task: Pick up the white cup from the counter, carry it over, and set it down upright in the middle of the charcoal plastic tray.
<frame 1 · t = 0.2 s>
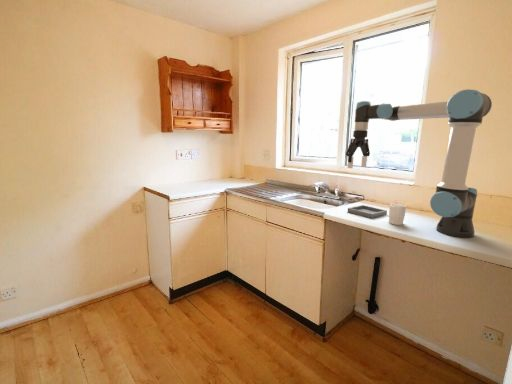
hand: (356, 167, 161), 28 cm above the table, tool pointing down, fingers open, 13 cm apart
white cup: (395, 223, 149), on the table
tray: (366, 213, 167), on the table
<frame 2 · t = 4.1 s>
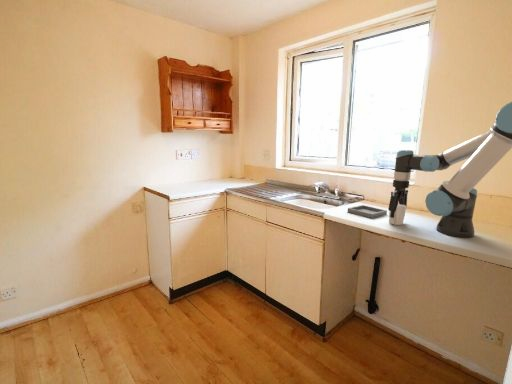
hand: (395, 221, 149), 1 cm above the table, tool pointing down, fingers closed on white cup, 7 cm apart
white cup: (395, 223, 149), on the table, touching gripper
when the fingers open (3 cm above the table, at t = 9.7 s): white cup drops 1 cm, resting on tray.
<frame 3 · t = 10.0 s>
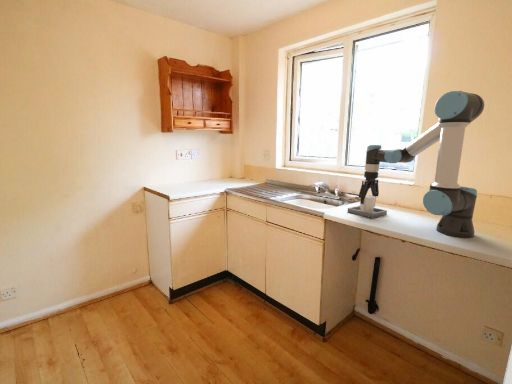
hand: (367, 207, 167), 3 cm above the table, tool pointing down, fingers open, 10 cm apart
white cup: (366, 212, 167), resting on tray
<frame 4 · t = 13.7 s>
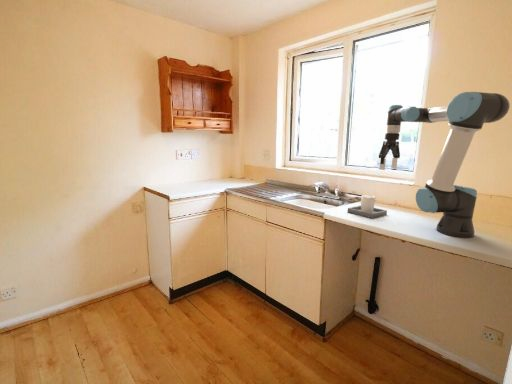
hand: (388, 169, 166), 27 cm above the table, tool pointing down, fingers open, 13 cm apart
nothing on the table moved.
at the end: white cup inside the target area on the tray (0.4 cm from its centre), point 0.4 cm above the tray's base; white cup tilted 0°; the gripper is holding nothing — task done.
